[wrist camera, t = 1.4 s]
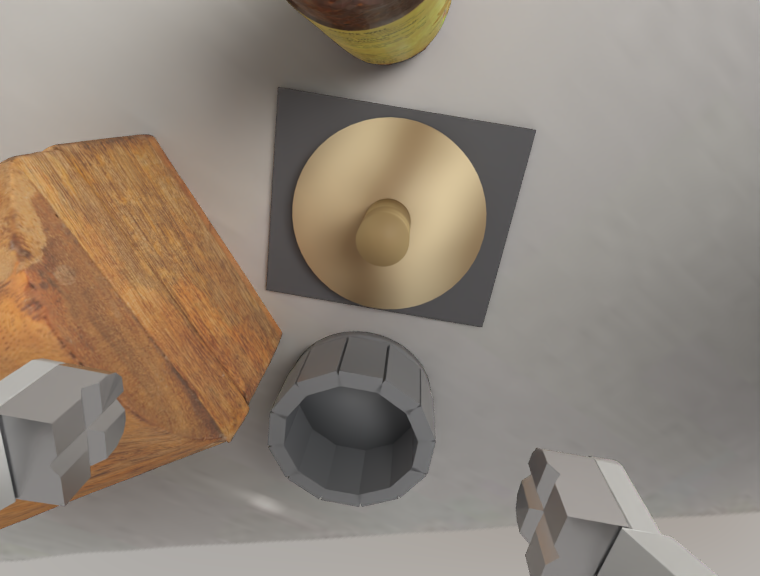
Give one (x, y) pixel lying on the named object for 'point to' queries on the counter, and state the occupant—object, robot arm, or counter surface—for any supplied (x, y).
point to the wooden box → (128, 299)
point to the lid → (389, 213)
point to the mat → (475, 138)
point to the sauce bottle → (377, 25)
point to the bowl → (354, 420)
